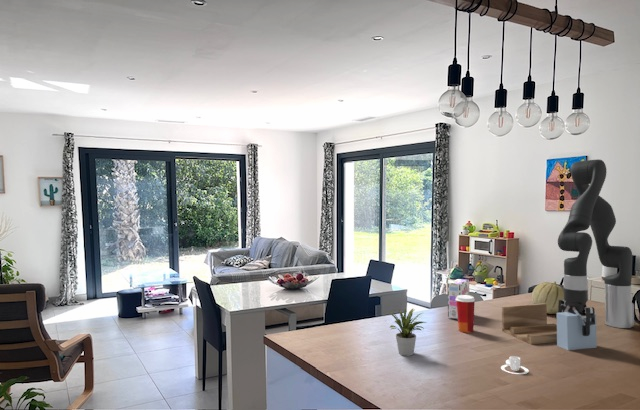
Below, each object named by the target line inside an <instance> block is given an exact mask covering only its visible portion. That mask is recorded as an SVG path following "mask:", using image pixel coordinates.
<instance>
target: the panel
mask: <svg viewBox="0 0 640 410" xmlns="http://www.w3.org/2000/svg"><path fill="white" fill-rule="evenodd" d="M581 316H584V315H581ZM584 320H585V319H584ZM590 321H591V318H590ZM585 322H586V320H585ZM556 324H557V342H556V346H557V347H559V348H562V349H564V350H567V351H574V350H584V349H585V350H586V349H594V348H595V349H596V348H598V347H597V344H598V343H597V342H598V341H597V340H598V339H597V338H598V337H597V313H595V325H590V335H589V336H583V335H582V325H583V324H582V322H581V320H579V319H578V317H577V315H576V314H573V313H570V312H563V311H562V312H561V313H556Z"/></svg>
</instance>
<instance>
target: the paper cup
mask: <svg viewBox="0 0 640 410" xmlns="http://www.w3.org/2000/svg"><path fill="white" fill-rule="evenodd" d="M455 300H456V301H457V314H458V320H457V322H458V325H457V326H458V331H459V332H460V333H464V334H465V333H466V334H470V333H473V332H474V327H475V326H474V325H475V324H474V323H475V304H476V303H475V302H476V299H475V297H474V296H473V295H470V294H469V295H458V296H457V297H456V299H455Z"/></svg>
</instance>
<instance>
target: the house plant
mask: <svg viewBox="0 0 640 410" xmlns="http://www.w3.org/2000/svg"><path fill="white" fill-rule="evenodd" d="M406 309H407V307H406V306H405V307H404V311H403V312H402V311H401V310H400V309H398V313H399V317H400V318H398V316H397V315H396V314H395V312H394V311H390V312H388V314H389V315H390V316H392V317H393V318H394V319H395V320H394V323H395V324H397V325H398V327H399V328H398V327H397V326H396V325H393V324H391V325H390V326H388V327H389V329H390V330H398V331H399V332H398V333H395V337H396V338H395V339H396V343H397V344H396V345H397V351H398V354H400V355H402V356H412V355H414V354H415V347H416V340H417V335H416V334H415V333H413V332H414V331H417V330H418V331H421V332H423V330H425V328H424V327H423V326H421V325H420V324H425V323H428V322H427V321H426V322H425V321H416V320H417V319H418V318H419V317H420V315H422V314H423V312H421V313H419V314H417V315H416V316H415V317H413V318H412V316H413V313H414V311H415V308H411V309H410V310H409V312H408V314H407V310H406ZM419 325H420V326H419ZM422 329H423V330H422Z"/></svg>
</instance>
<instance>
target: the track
mask: <svg viewBox="0 0 640 410" xmlns="http://www.w3.org/2000/svg"><path fill="white" fill-rule="evenodd" d="M547 314H548V313H547V304H545V303H544V304H519V305H518V304H517V305H516V304H515V305H502V306H501V322H502V323H501V326H502V327H501V328H502V329H501V330H502V332H503V331H504V333H506V334H508V335H510V336H512V337H514V338H517V339H518V340H521V341H523V342H525V343H527V344H530V345H539V344H546V343H547V344H548V343H550V344H551V343H557V323H548V318H547V317H548V315H547Z"/></svg>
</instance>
